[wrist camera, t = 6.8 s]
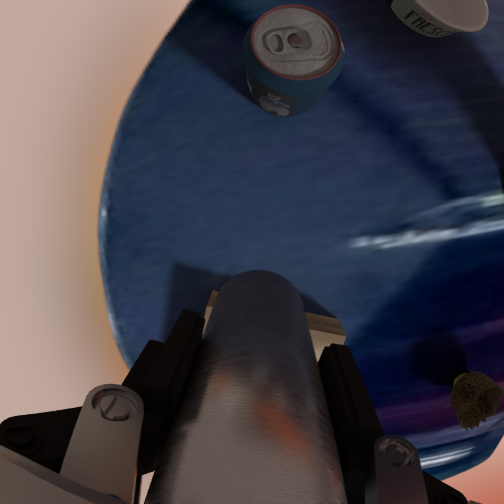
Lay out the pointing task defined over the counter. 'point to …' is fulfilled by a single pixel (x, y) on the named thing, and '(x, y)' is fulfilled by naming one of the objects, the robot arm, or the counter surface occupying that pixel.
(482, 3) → the food container
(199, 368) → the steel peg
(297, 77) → the soda can
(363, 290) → the counter surface
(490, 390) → the brown bumpy hollow part
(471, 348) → the counter surface
